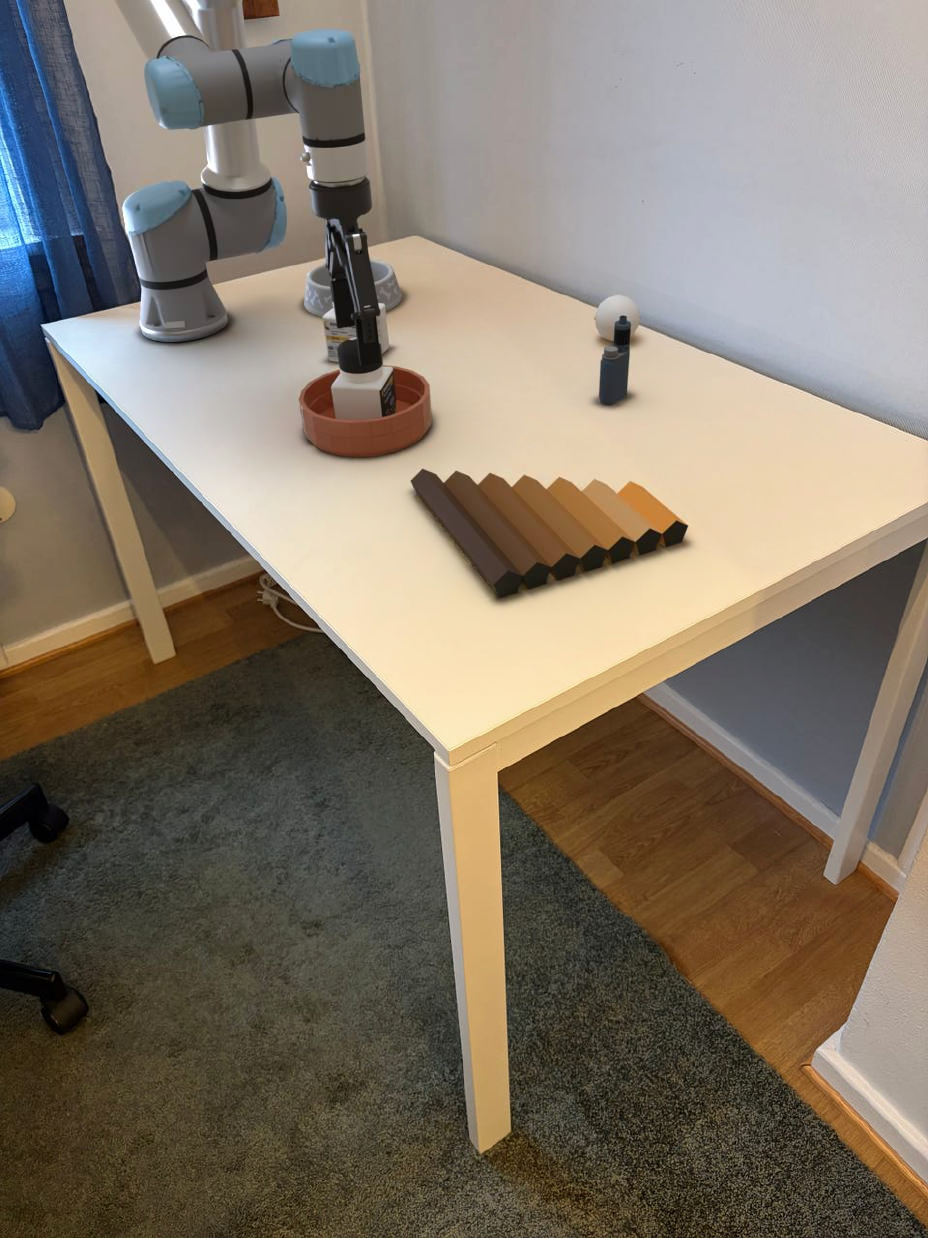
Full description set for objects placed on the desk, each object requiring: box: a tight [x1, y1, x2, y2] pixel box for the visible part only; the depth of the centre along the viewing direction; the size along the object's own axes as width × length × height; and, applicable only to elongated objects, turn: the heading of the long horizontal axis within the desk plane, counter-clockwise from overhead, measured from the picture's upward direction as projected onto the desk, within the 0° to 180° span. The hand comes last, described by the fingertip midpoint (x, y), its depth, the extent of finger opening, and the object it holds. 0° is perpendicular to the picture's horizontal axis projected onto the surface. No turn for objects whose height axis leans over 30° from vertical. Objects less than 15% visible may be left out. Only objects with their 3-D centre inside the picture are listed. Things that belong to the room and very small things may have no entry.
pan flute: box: [410, 468, 689, 599], centre depth 116 cm, size 25×3×25 cm
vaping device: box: [598, 315, 631, 406], centre depth 138 cm, size 3×5×12 cm, turn 137°
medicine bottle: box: [331, 337, 397, 420], centre depth 134 cm, size 7×7×12 cm
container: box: [322, 277, 390, 363], centre depth 155 cm, size 8×8×13 cm
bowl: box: [297, 364, 433, 458], centre depth 136 cm, size 18×18×6 cm
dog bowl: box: [303, 258, 403, 318], centre depth 177 cm, size 17×18×5 cm
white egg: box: [593, 294, 641, 342], centre depth 157 cm, size 10×7×7 cm
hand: (358, 344), depth 130 cm, fingers open, 13 cm apart
